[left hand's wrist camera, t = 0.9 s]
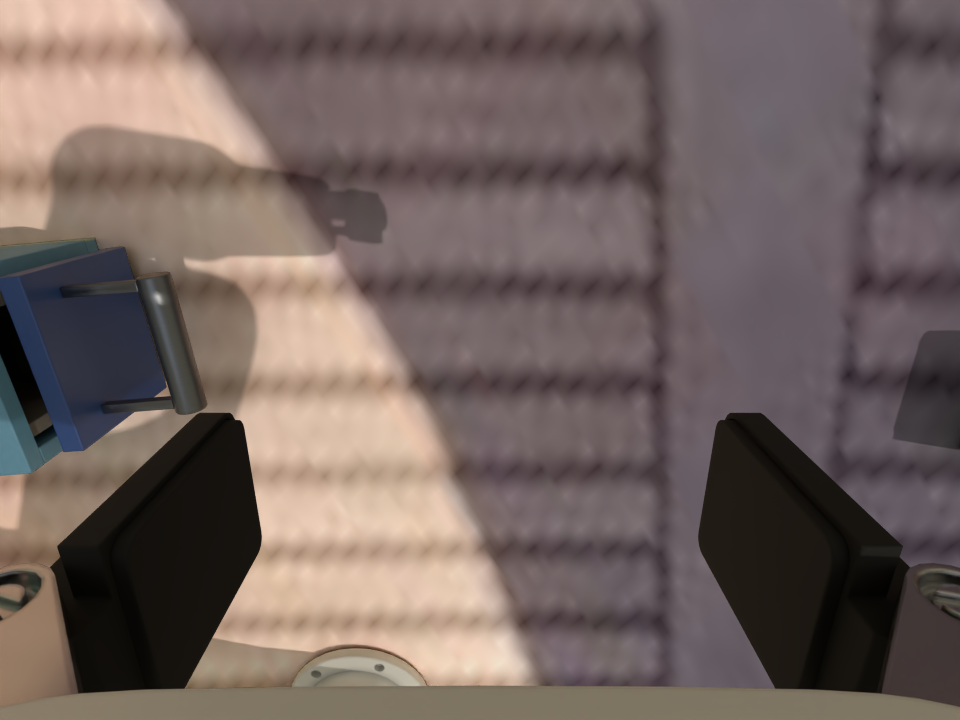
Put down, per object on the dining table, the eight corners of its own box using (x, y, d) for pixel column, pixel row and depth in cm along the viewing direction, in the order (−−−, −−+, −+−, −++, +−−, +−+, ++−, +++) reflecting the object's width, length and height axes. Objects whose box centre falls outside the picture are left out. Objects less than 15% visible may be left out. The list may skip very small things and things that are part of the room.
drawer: (215, 238, 36) (136, 265, 27) (250, 380, 39) (189, 443, 31) (-67, 263, 36) (-229, 296, 28) (-8, 401, 40) (-137, 468, 31)
